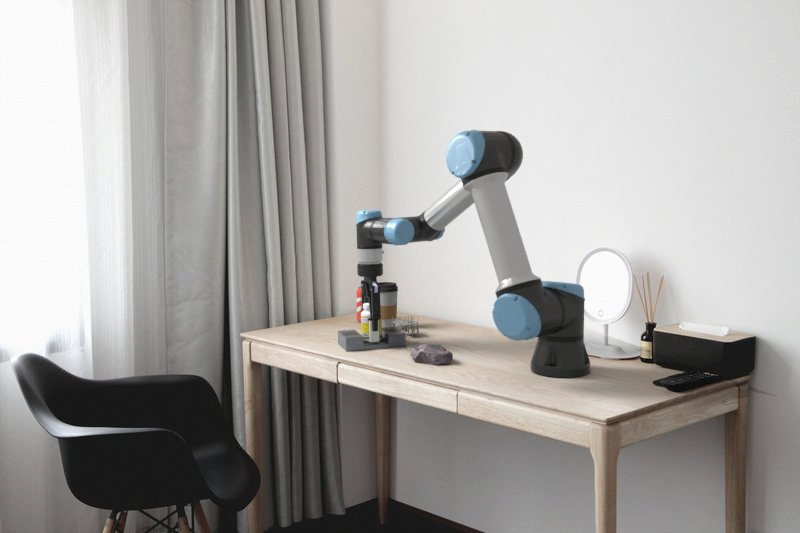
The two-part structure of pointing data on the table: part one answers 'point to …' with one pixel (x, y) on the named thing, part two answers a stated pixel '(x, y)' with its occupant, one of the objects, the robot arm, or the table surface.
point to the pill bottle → (365, 324)
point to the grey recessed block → (354, 342)
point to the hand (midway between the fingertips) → (371, 339)
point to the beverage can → (359, 304)
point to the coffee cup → (388, 303)
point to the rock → (431, 354)
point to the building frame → (408, 324)
